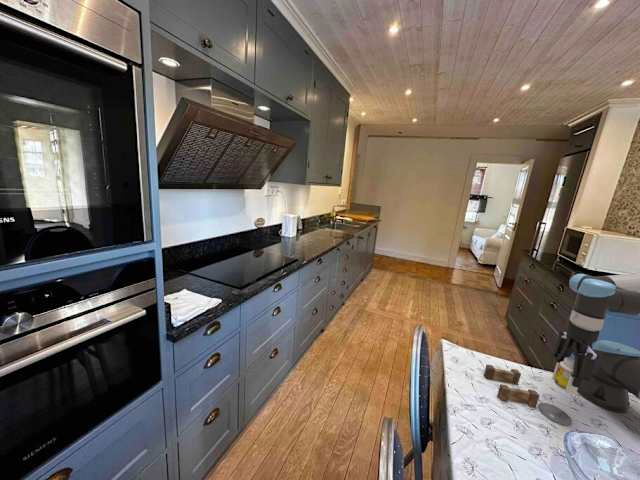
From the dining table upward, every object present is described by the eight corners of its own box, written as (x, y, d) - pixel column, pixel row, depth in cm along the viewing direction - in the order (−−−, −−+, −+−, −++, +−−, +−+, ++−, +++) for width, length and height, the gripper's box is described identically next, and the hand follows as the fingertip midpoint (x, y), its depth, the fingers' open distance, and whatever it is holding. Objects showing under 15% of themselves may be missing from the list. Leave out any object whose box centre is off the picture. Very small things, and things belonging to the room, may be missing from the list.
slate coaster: (558, 406, 97) (559, 405, 97) (578, 428, 88) (578, 426, 88) (532, 401, 98) (532, 400, 98) (548, 422, 90) (549, 421, 89)
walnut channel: (514, 380, 109) (517, 369, 108) (535, 407, 96) (539, 395, 94) (483, 375, 110) (486, 364, 109) (500, 400, 97) (503, 388, 96)
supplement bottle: (555, 378, 95) (563, 353, 93) (576, 388, 90) (585, 362, 88) (551, 384, 91) (559, 358, 89) (573, 395, 87) (582, 368, 85)
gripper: (551, 310, 96) (534, 366, 100) (595, 339, 78) (571, 405, 82) (574, 314, 95) (555, 370, 99) (624, 344, 77) (598, 410, 81)
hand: (563, 386), depth 91 cm, fingers closed on supplement bottle, 6 cm apart
